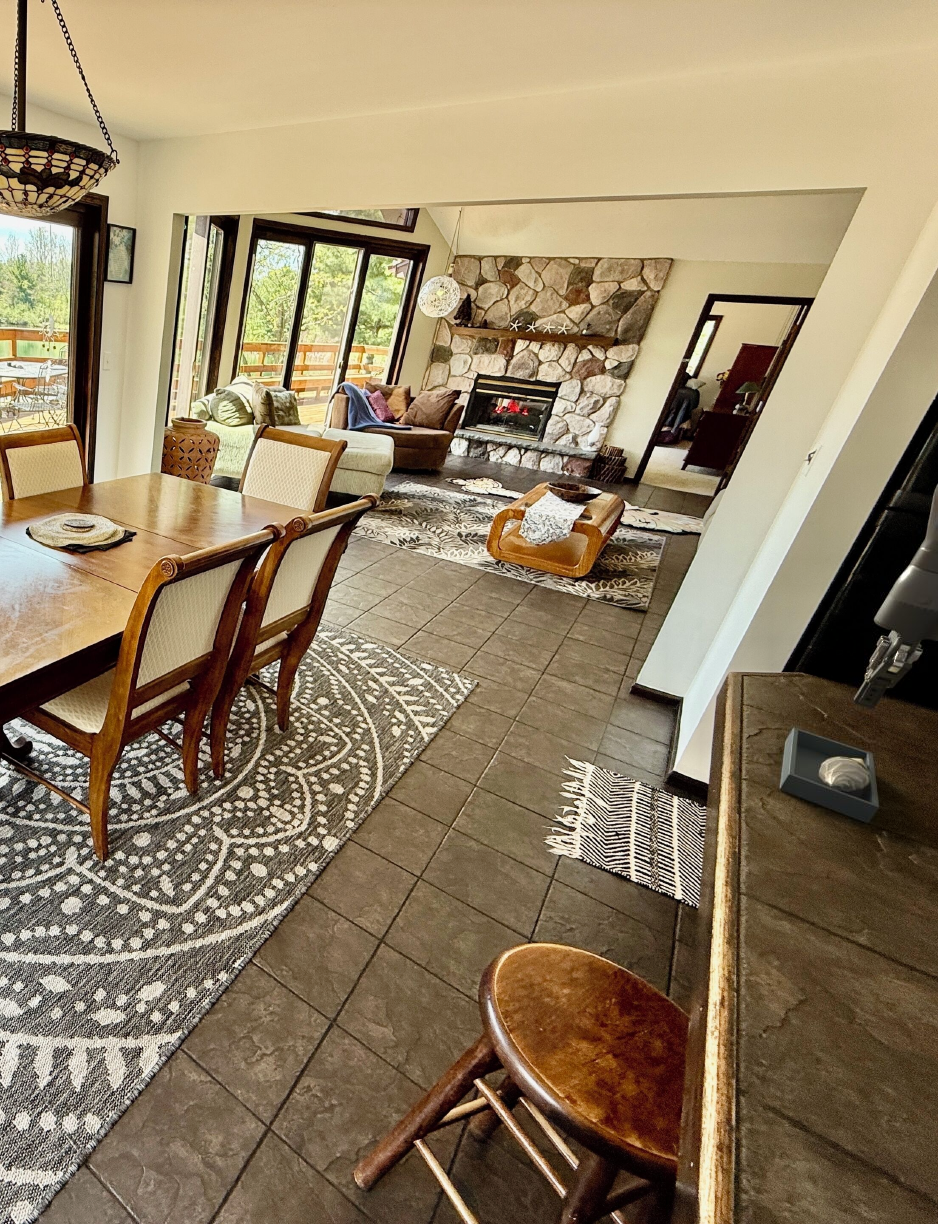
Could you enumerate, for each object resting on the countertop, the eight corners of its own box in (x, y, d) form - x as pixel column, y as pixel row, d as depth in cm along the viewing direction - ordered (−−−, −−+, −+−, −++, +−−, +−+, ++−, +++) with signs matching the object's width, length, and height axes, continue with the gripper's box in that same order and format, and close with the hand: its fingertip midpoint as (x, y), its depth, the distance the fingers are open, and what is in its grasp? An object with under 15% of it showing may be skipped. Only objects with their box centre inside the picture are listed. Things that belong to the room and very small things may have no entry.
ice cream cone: (891, 753, 96) (863, 778, 89) (878, 782, 98) (849, 809, 90) (843, 738, 100) (813, 761, 93) (831, 766, 102) (800, 791, 94)
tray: (785, 741, 108) (793, 727, 107) (862, 768, 102) (872, 753, 101) (779, 789, 95) (788, 773, 94) (868, 823, 89) (879, 807, 88)
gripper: (975, 621, 84) (901, 730, 91) (962, 600, 92) (896, 701, 99) (892, 602, 89) (828, 707, 96) (887, 584, 97) (828, 682, 104)
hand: (863, 704), depth 98 cm, fingers closed
